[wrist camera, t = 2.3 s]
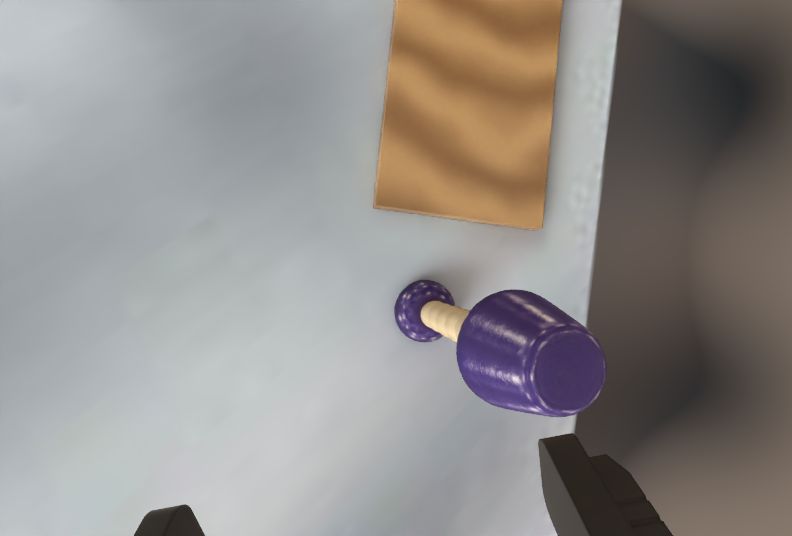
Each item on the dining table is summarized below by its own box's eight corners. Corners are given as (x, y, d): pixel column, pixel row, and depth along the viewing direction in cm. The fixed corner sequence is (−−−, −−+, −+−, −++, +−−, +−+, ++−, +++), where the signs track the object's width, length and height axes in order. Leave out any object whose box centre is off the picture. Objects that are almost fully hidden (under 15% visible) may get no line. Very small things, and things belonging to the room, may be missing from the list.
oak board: (402, -78, 30) (406, -92, 29) (557, -34, 32) (567, -45, 31) (372, 208, 29) (375, 205, 28) (533, 230, 31) (542, 228, 30)
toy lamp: (464, 335, 30) (653, 407, 14) (403, 360, 29) (530, 469, 13) (441, 271, 30) (607, 267, 14) (379, 295, 29) (478, 320, 13)
